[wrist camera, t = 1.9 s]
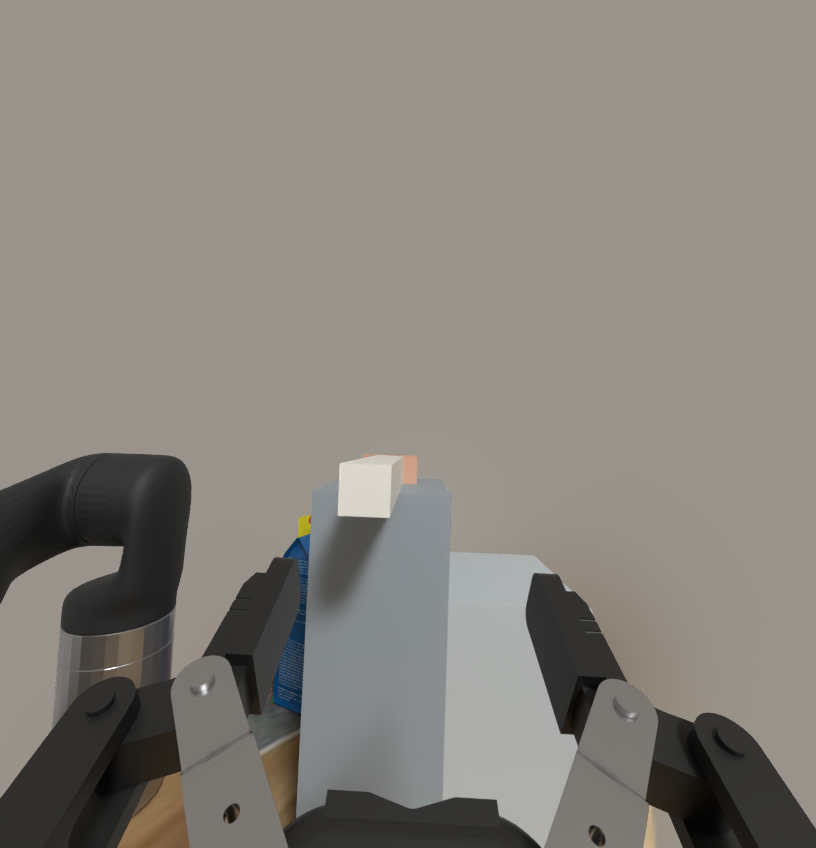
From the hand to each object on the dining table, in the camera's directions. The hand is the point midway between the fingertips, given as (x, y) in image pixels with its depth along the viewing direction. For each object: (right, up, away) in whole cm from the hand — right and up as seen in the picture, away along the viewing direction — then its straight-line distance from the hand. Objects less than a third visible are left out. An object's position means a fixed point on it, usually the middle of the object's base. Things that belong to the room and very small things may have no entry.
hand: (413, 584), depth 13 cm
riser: (+3, -32, +26) cm, 41 cm away
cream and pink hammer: (-2, 0, +21) cm, 21 cm away
